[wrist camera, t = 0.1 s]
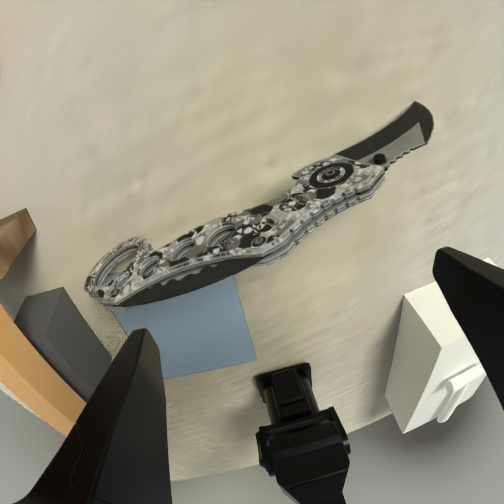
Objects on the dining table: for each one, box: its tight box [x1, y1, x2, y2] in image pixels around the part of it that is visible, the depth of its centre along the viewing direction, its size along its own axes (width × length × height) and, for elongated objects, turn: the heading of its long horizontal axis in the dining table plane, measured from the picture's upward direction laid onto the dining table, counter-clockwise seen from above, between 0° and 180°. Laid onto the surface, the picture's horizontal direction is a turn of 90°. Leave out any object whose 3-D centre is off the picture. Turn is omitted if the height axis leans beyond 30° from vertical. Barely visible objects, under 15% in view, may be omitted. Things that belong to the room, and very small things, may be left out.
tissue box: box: [384, 258, 498, 434], centre depth 35 cm, size 14×25×11 cm, turn 13°
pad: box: [102, 272, 257, 379], centre depth 28 cm, size 14×11×1 cm
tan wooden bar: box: [0, 304, 87, 437], centre depth 19 cm, size 22×3×3 cm, turn 10°
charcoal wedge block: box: [14, 287, 112, 403], centre depth 25 cm, size 11×5×6 cm, turn 11°
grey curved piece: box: [84, 101, 434, 311], centre depth 18 cm, size 28×2×10 cm, turn 115°
